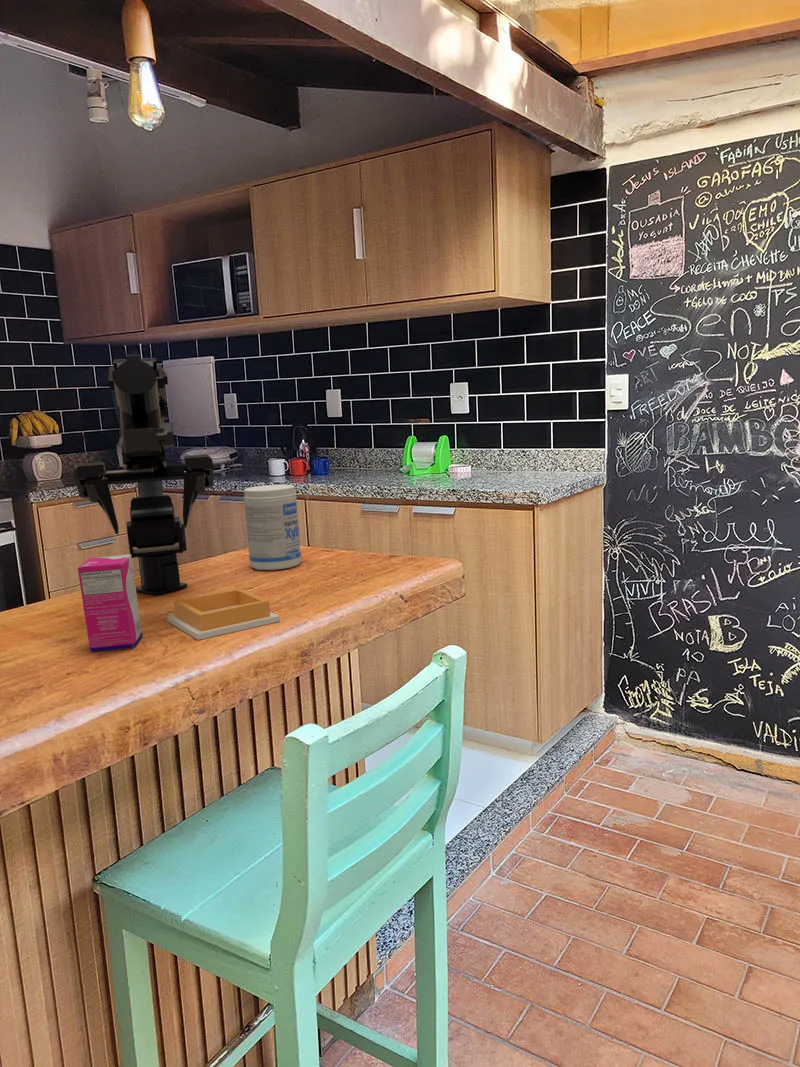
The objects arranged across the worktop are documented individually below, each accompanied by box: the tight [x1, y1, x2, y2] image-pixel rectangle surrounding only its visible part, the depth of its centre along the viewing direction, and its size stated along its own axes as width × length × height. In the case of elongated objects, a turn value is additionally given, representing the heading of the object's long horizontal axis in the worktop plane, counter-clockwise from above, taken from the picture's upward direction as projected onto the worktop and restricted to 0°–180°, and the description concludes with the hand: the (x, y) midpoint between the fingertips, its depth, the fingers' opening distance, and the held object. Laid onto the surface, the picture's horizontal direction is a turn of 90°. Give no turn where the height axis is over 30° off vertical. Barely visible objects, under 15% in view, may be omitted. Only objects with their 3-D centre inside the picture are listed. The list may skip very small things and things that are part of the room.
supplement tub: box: [243, 484, 302, 571], centre depth 150 cm, size 10×10×15 cm
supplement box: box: [77, 553, 144, 653], centre depth 107 cm, size 6×6×12 cm
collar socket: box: [166, 588, 281, 641], centre depth 115 cm, size 12×12×3 cm
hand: (151, 529), depth 113 cm, fingers open, 9 cm apart
